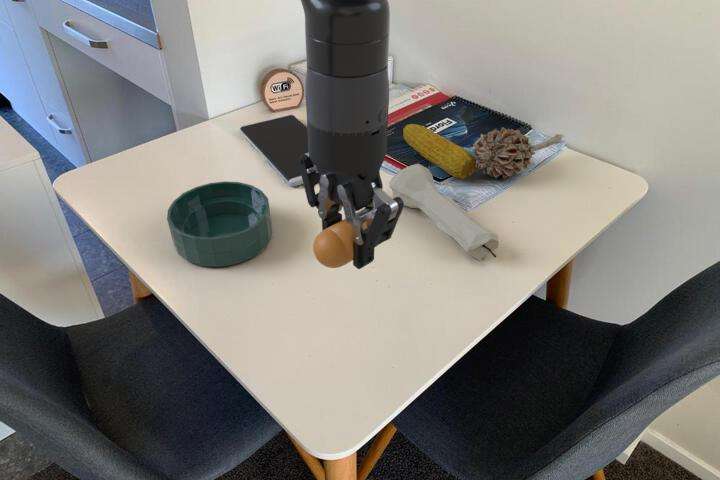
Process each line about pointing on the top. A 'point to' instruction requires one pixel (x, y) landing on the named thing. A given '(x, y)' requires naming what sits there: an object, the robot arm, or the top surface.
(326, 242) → the bread roll
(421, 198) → the faceted club
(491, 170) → the pine cone
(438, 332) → the top surface
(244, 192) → the green round bowl
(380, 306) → the top surface
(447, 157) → the food
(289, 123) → the smartphone
